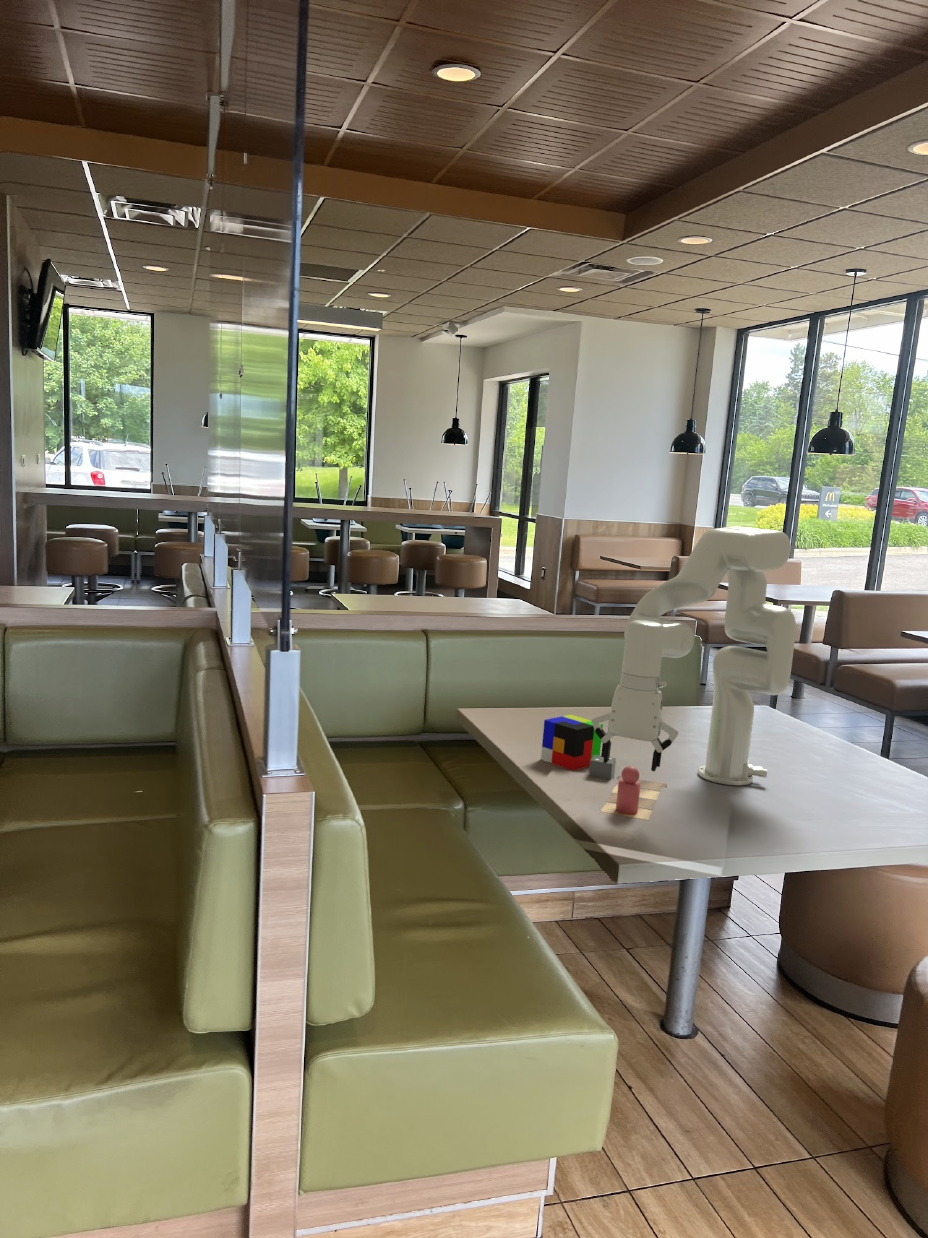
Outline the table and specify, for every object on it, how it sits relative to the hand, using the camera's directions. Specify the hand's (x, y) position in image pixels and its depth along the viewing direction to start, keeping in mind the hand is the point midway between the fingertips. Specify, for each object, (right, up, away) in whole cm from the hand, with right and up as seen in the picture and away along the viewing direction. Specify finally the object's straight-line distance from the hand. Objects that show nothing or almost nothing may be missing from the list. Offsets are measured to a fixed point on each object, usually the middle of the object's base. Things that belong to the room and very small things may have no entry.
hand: (629, 765), depth 185 cm
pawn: (0, -10, +2) cm, 10 cm away
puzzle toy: (-8, -5, +37) cm, 38 cm away
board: (+3, -10, +11) cm, 15 cm away
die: (-2, -7, +25) cm, 26 cm away
